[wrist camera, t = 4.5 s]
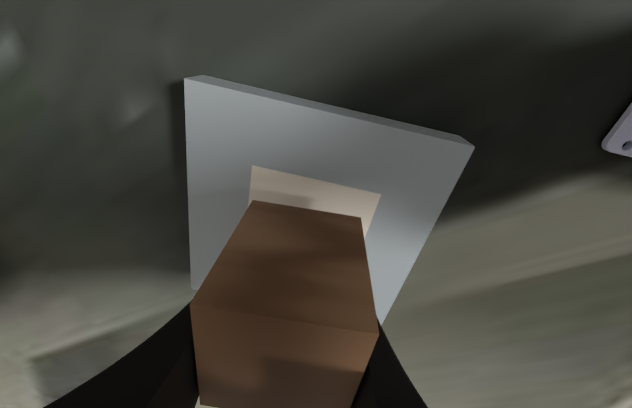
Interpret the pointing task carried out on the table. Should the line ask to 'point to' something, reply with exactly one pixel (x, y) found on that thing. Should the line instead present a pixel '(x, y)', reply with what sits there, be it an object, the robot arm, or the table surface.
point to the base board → (314, 173)
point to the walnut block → (285, 312)
